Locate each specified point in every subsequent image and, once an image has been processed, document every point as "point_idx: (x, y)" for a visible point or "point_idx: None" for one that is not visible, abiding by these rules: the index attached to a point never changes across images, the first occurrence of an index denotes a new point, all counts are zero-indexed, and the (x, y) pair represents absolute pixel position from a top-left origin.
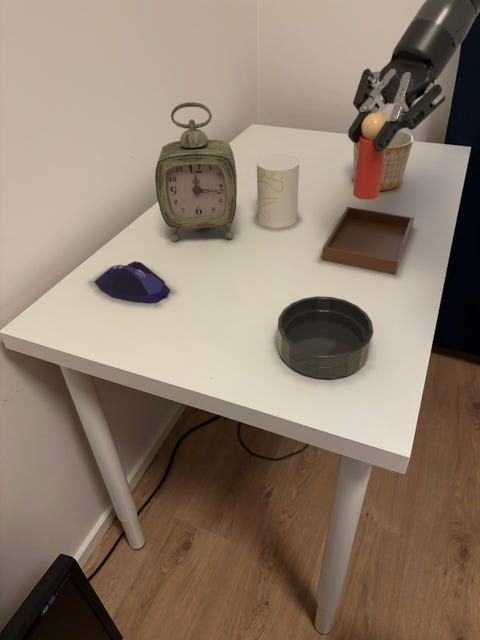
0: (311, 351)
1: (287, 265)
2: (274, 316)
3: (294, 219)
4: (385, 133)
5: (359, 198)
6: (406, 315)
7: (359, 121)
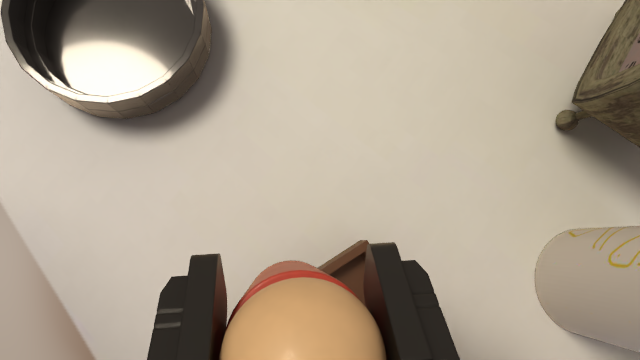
0: (124, 7)
1: (389, 162)
2: (257, 27)
3: (546, 303)
4: (179, 327)
5: (279, 262)
6: (87, 240)
7: (394, 312)
